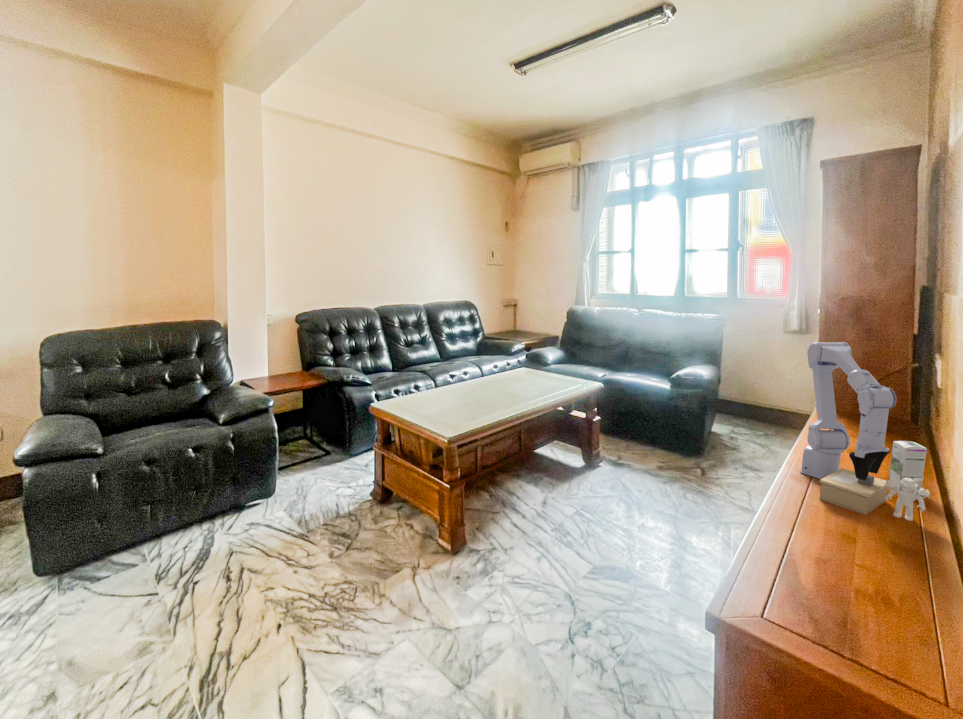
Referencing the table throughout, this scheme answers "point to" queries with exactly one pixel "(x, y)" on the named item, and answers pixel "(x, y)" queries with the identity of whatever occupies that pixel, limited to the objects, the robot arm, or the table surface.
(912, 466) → the syrup box
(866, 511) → the mailer box
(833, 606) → the table surface
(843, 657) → the table surface
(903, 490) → the blocky character figurine
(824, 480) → the mailer lid
